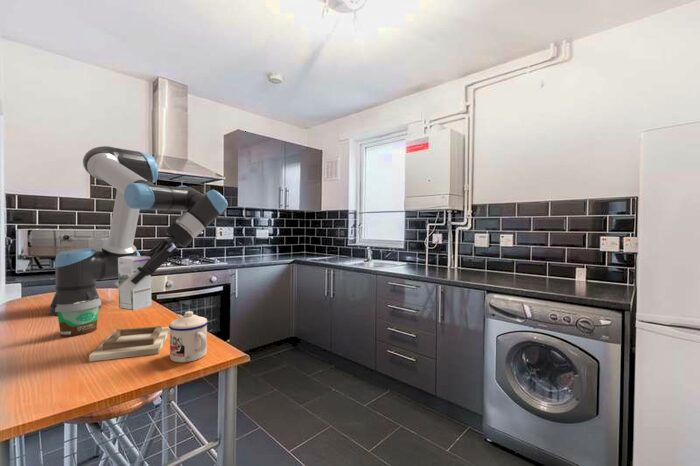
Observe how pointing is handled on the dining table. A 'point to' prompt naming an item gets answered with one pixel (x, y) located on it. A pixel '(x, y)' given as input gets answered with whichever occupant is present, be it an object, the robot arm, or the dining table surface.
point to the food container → (78, 317)
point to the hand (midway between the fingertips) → (120, 289)
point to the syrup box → (142, 291)
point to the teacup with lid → (188, 338)
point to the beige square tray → (131, 343)
